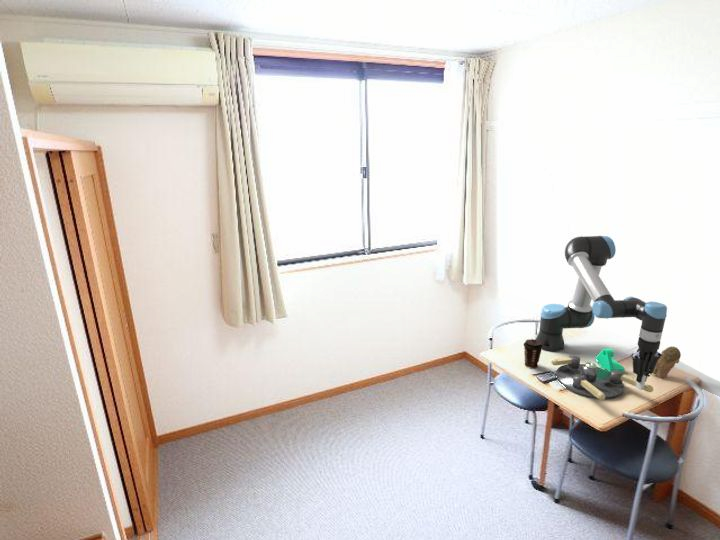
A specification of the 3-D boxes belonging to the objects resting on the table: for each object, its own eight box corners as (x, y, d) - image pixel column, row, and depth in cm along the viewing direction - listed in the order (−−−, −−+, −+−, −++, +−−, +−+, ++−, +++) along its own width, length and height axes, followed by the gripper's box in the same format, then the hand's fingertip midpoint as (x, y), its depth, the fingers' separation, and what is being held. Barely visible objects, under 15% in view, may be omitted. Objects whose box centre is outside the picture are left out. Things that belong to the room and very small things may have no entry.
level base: (543, 370, 206) (545, 352, 203) (593, 364, 210) (596, 347, 208) (581, 402, 179) (584, 382, 177) (638, 395, 184) (642, 375, 181)
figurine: (649, 374, 200) (654, 345, 196) (661, 370, 203) (666, 343, 199) (666, 382, 193) (672, 353, 189) (678, 379, 195) (685, 350, 191)
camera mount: (624, 373, 202) (628, 354, 199) (609, 374, 202) (612, 355, 199) (609, 361, 213) (612, 343, 211) (595, 362, 213) (597, 343, 210)
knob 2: (607, 380, 191) (608, 371, 190) (613, 377, 194) (614, 368, 192) (648, 398, 177) (650, 388, 175) (654, 395, 179) (656, 385, 178)
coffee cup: (533, 360, 216) (535, 337, 212) (544, 367, 208) (546, 344, 205) (518, 362, 214) (520, 339, 210) (529, 370, 206) (531, 346, 203)
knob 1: (570, 383, 189) (571, 374, 188) (579, 382, 190) (581, 373, 189) (597, 406, 173) (598, 395, 171) (608, 404, 174) (609, 394, 172)
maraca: (574, 363, 207) (575, 354, 206) (581, 368, 203) (582, 359, 201) (548, 366, 205) (549, 357, 204) (554, 371, 200) (555, 362, 199)
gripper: (643, 343, 168) (633, 394, 175) (670, 341, 170) (659, 391, 177) (629, 336, 176) (619, 384, 182) (655, 333, 178) (645, 382, 184)
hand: (639, 388), depth 180 cm, fingers closed
